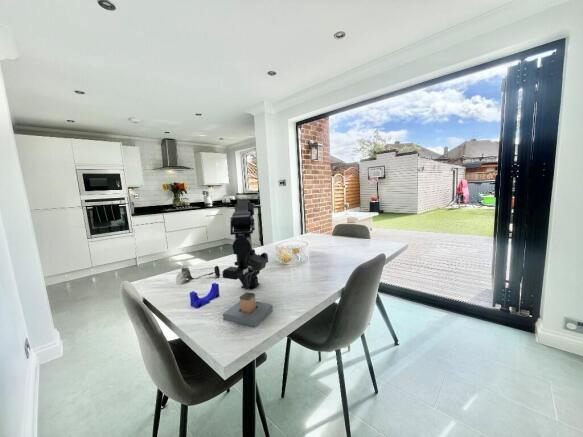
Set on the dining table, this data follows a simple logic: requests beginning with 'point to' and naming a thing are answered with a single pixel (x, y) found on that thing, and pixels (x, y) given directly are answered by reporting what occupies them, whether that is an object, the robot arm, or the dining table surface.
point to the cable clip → (200, 302)
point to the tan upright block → (247, 302)
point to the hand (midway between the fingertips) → (246, 288)
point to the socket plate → (246, 318)
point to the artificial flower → (186, 274)
